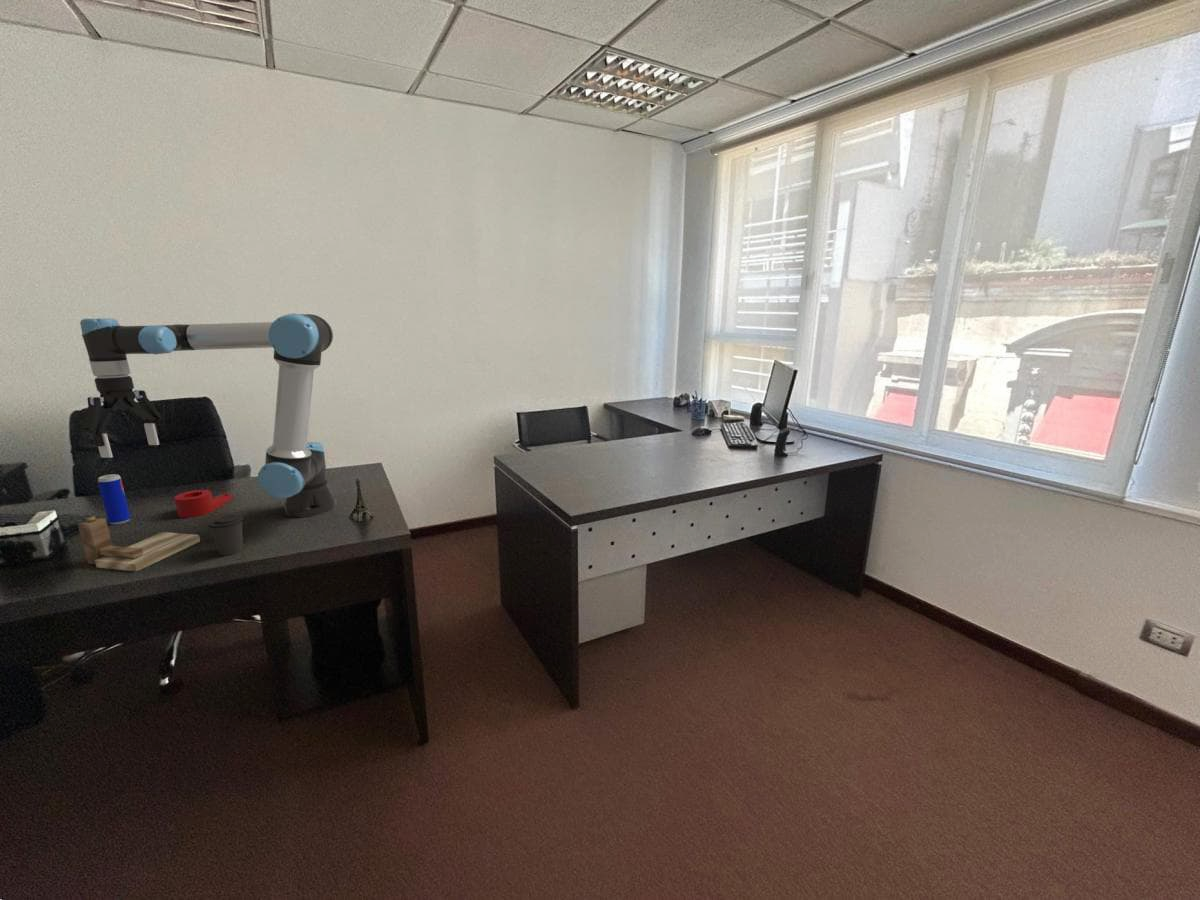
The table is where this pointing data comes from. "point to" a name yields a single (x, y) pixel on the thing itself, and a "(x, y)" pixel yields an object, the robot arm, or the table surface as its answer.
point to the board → (150, 551)
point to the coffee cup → (227, 534)
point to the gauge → (102, 541)
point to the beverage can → (114, 499)
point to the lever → (198, 503)
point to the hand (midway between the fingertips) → (131, 450)
